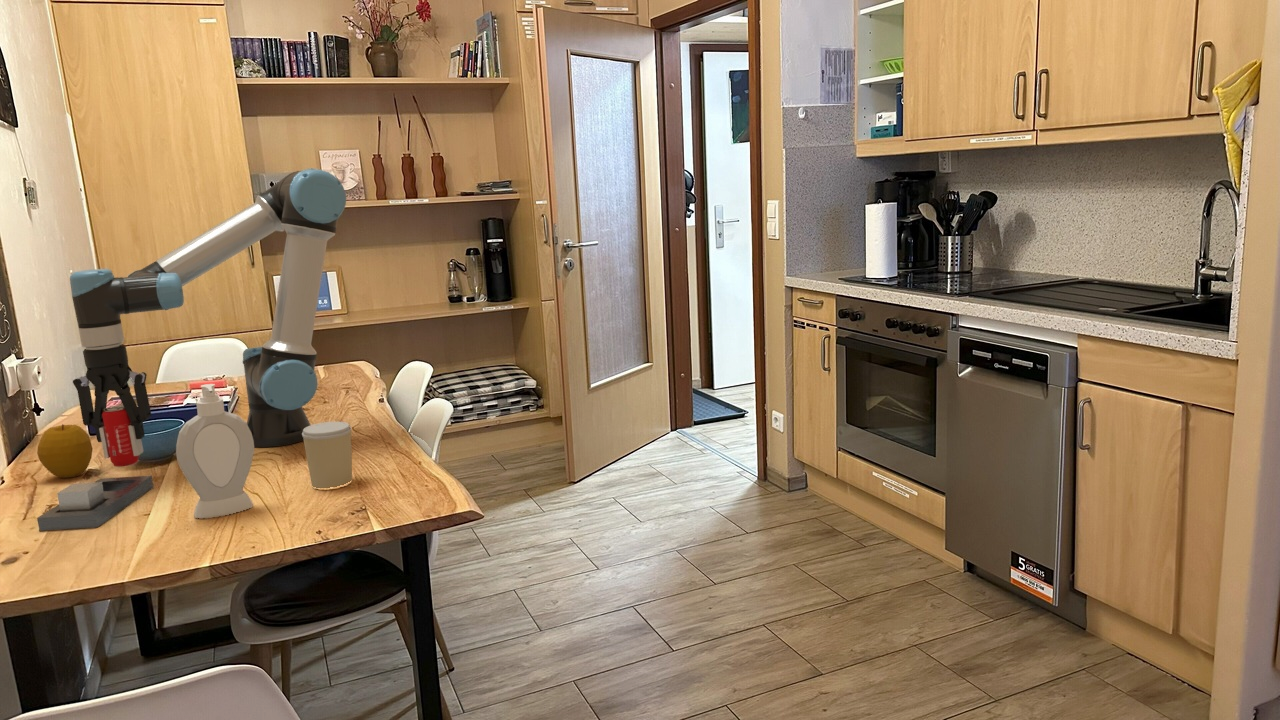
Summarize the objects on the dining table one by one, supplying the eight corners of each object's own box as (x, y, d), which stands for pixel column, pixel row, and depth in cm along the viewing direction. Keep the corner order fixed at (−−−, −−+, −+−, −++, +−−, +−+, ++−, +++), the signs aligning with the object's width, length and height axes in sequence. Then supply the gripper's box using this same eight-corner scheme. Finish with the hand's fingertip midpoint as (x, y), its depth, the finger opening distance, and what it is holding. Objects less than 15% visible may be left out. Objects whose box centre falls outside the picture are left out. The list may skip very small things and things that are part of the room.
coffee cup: (366, 478, 179) (360, 422, 177) (336, 493, 171) (330, 434, 168) (328, 475, 182) (322, 419, 180) (297, 490, 174) (291, 431, 171)
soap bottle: (187, 528, 155) (169, 395, 150) (184, 515, 161) (166, 387, 157) (265, 512, 162) (250, 384, 157) (259, 500, 168) (244, 377, 163)
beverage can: (127, 467, 179) (117, 411, 177) (105, 467, 180) (95, 411, 178) (145, 459, 184) (136, 404, 182) (124, 459, 185) (115, 404, 183)
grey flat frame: (153, 487, 178) (149, 459, 177) (97, 527, 157) (92, 495, 156) (102, 490, 177) (97, 462, 176) (39, 531, 156) (33, 499, 155)
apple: (39, 487, 181) (30, 432, 178) (45, 474, 189) (37, 422, 187) (94, 478, 185) (85, 425, 183) (98, 467, 193) (90, 415, 191)
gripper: (158, 339, 181) (176, 446, 186) (67, 345, 180) (88, 453, 185) (141, 346, 174) (161, 457, 179) (46, 352, 173) (69, 464, 177)
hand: (124, 454), depth 182 cm, fingers closed on beverage can, 5 cm apart
